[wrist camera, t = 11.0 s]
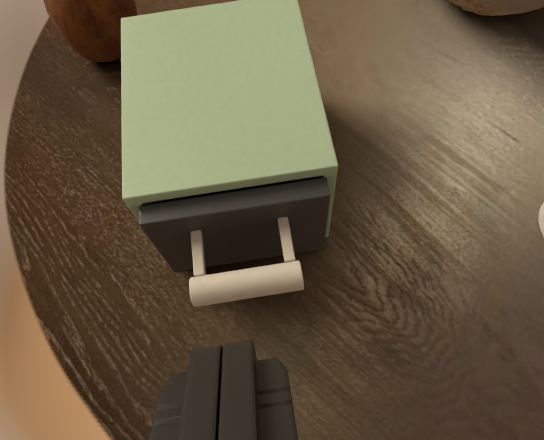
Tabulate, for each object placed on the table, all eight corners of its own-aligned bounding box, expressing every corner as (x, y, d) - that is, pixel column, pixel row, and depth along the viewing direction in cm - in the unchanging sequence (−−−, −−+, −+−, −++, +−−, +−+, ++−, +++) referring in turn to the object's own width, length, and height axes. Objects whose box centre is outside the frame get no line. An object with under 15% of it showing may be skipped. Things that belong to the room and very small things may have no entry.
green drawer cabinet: (328, 237, 33) (338, 165, 25) (168, 262, 33) (121, 199, 25) (296, 90, 39) (296, -9, 31) (160, 111, 39) (120, 17, 30)
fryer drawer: (337, 310, 30) (348, 270, 23) (177, 335, 30) (140, 303, 23) (294, 106, 38) (292, 29, 30) (165, 125, 37) (134, 52, 30)
